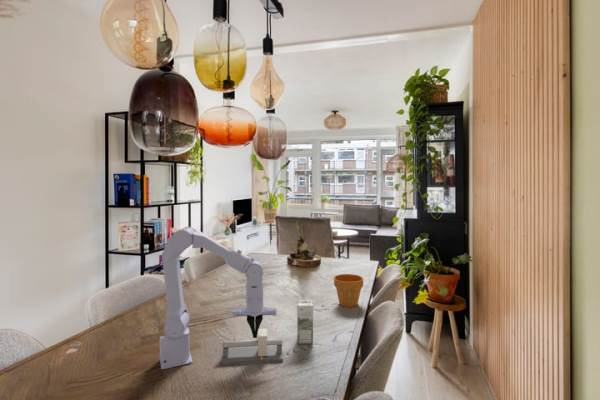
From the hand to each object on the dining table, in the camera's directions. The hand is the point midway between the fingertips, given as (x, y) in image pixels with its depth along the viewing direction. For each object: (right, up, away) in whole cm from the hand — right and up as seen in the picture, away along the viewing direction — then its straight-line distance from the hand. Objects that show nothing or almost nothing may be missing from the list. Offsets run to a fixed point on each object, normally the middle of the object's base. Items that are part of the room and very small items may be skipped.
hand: (255, 336), depth 112 cm
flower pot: (+39, -5, +50) cm, 64 cm away
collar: (+3, -5, 0) cm, 6 cm away
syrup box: (+17, -6, +11) cm, 22 cm away
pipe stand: (-1, -7, 0) cm, 7 cm away
